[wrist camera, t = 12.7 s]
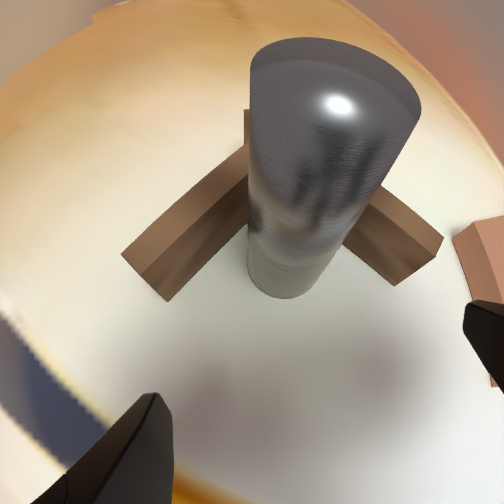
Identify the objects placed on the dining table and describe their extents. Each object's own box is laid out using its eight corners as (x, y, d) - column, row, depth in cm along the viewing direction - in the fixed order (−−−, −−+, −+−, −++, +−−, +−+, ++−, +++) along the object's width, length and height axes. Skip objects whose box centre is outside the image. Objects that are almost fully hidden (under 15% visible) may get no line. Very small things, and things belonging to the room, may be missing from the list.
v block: (407, 284, 18) (449, 255, 13) (150, 302, 17) (118, 276, 12) (372, 161, 22) (394, 117, 17) (161, 167, 21) (144, 118, 16)
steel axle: (320, 235, 19) (399, 57, 7) (317, 302, 17) (440, 155, 5) (252, 227, 19) (260, 30, 7) (242, 294, 17) (236, 117, 5)
